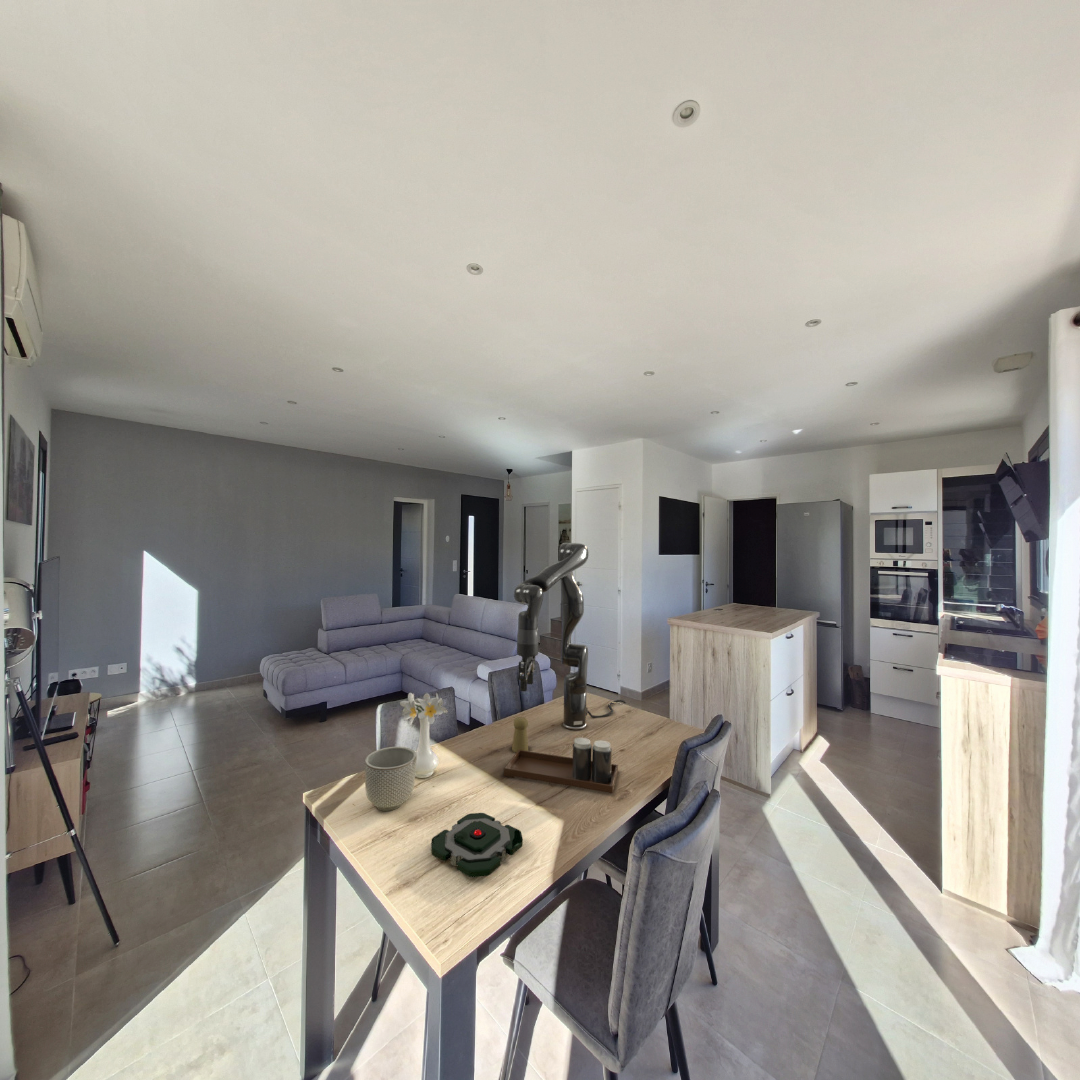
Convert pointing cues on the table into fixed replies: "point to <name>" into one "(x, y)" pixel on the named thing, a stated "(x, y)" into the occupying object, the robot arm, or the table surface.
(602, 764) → the black shaker
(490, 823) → the flat green button pad
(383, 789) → the planter
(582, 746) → the cylinder
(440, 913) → the table surface
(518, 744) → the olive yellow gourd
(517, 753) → the tray
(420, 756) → the flower vase
